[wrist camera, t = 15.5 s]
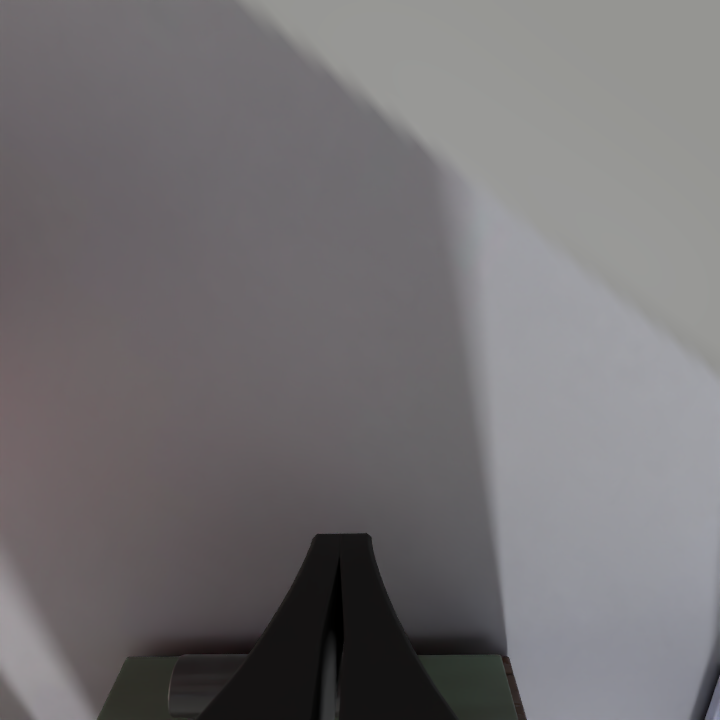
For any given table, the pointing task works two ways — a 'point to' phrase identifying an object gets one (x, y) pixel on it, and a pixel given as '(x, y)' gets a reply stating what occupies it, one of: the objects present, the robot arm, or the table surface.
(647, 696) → the table surface
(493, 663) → the drawer
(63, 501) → the table surface
